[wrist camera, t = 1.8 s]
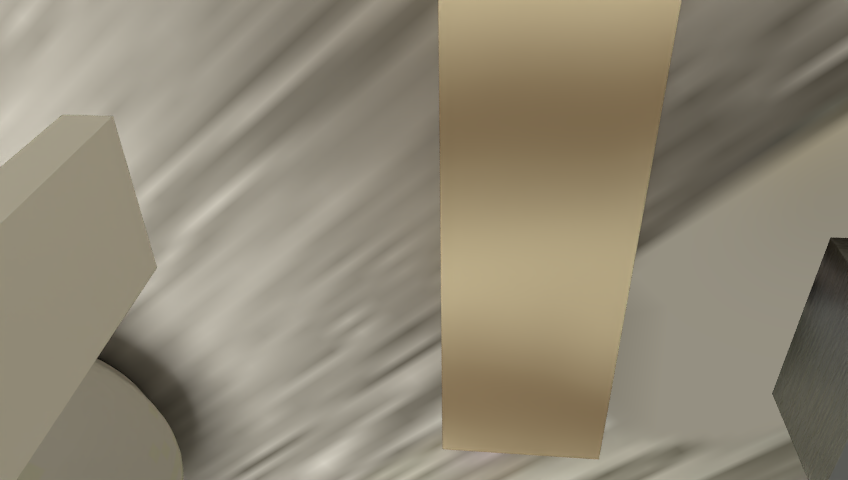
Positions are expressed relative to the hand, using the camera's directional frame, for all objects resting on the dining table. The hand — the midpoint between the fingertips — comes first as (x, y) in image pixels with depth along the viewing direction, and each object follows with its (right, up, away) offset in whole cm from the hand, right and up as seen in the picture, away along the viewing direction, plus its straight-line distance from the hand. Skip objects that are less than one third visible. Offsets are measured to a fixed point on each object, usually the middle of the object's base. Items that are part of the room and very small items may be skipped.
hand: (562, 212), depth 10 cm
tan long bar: (+1, +4, +7) cm, 8 cm away
